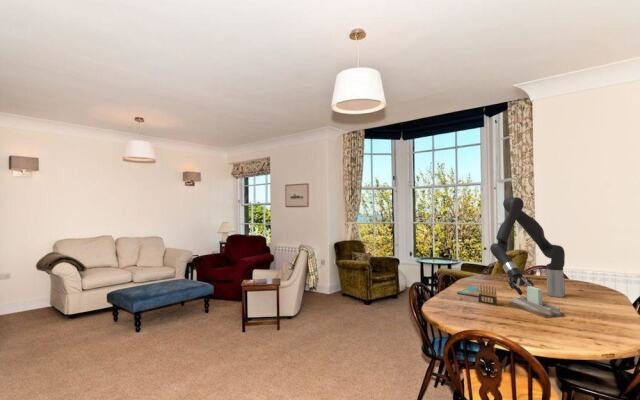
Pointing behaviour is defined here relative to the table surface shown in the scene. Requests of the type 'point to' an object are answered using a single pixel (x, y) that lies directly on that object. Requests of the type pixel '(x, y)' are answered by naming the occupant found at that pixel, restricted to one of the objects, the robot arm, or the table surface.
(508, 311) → the table surface
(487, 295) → the ammunition clip
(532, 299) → the door panel
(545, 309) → the board
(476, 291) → the dish towel
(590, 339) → the table surface
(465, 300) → the table surface
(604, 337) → the table surface
